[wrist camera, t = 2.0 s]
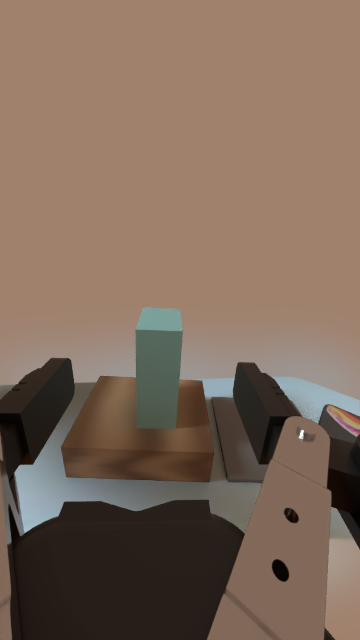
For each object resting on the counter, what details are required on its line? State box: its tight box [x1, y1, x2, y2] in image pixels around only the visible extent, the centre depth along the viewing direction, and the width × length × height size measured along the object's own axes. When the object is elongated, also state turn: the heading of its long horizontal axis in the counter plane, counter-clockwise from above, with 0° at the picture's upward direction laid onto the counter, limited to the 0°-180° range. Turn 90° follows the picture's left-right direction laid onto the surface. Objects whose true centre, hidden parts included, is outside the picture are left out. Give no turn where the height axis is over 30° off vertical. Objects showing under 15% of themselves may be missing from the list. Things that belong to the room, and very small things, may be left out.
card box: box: [136, 308, 183, 429], centre depth 24 cm, size 6×4×11 cm, turn 2°
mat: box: [212, 397, 302, 482], centre depth 28 cm, size 12×12×1 cm
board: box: [61, 376, 214, 482], centre depth 27 cm, size 14×11×4 cm
